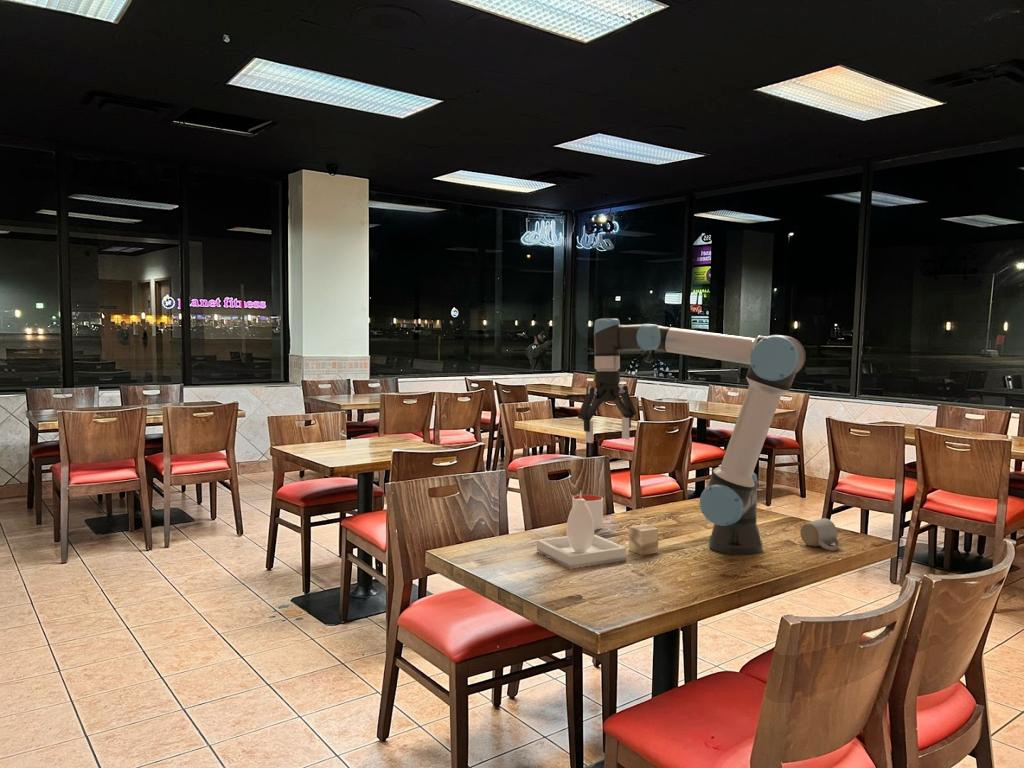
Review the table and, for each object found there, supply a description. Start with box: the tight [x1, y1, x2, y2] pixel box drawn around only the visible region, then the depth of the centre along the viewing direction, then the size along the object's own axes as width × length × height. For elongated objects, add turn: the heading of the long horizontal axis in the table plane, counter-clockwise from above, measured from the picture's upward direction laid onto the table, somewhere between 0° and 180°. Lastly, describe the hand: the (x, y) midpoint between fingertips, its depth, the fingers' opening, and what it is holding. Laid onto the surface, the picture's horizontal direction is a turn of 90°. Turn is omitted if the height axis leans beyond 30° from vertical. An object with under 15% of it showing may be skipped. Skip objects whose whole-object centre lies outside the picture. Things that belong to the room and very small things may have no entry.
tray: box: [536, 533, 627, 570], centre depth 210 cm, size 18×18×4 cm
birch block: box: [628, 523, 659, 556], centre depth 214 cm, size 6×6×7 cm
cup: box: [571, 494, 604, 531], centre depth 241 cm, size 10×10×10 cm
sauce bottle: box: [566, 490, 595, 553], centre depth 209 cm, size 8×8×18 cm
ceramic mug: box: [799, 517, 840, 552], centre depth 219 cm, size 11×8×8 cm
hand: (607, 440), depth 221 cm, fingers open, 13 cm apart
